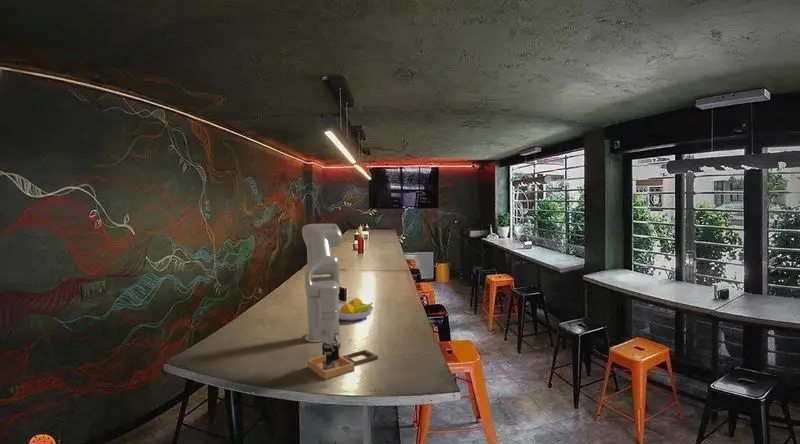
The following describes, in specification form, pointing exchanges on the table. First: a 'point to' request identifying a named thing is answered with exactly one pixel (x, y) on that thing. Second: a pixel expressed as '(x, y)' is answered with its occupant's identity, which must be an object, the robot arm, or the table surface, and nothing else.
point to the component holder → (362, 361)
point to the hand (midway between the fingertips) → (330, 356)
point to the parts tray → (341, 369)
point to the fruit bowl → (354, 310)
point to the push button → (328, 357)
